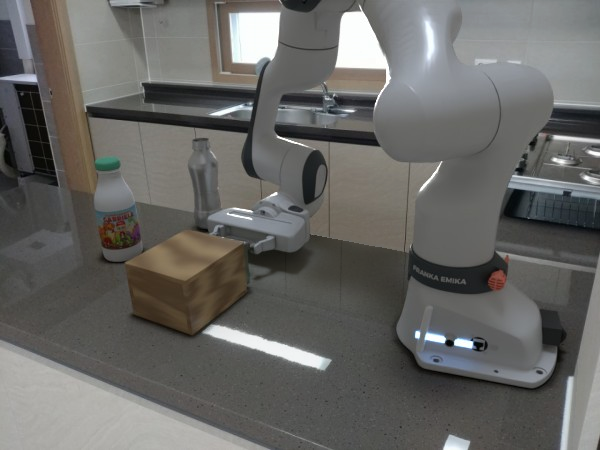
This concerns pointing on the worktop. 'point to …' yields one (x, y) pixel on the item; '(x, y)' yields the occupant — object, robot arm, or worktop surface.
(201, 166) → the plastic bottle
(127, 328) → the worktop surface
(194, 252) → the cabinet
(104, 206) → the milk bottle
